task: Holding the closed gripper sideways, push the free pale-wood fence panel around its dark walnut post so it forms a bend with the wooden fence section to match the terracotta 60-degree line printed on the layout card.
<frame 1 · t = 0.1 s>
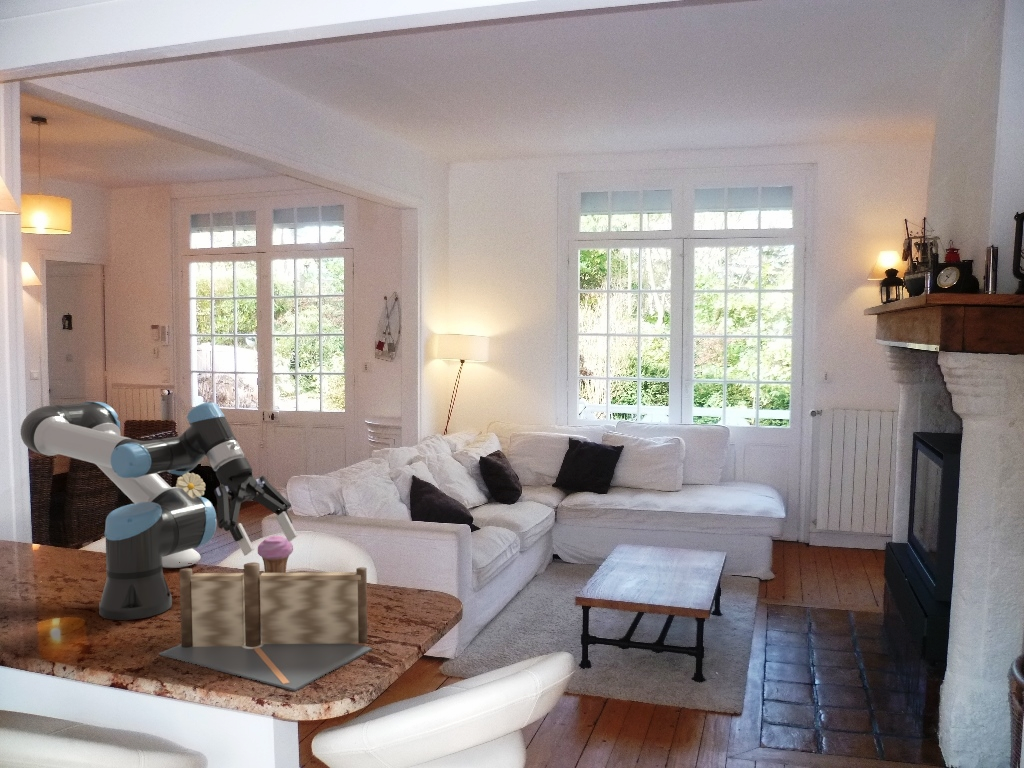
hand: (272, 545, 193), 15 cm above the kitchen counter, tool tilted 35°, fingers open, 13 cm apart
fence panel: (314, 605, 174), point 8 cm above the kitchen counter, hinge at 0.0°
flower in vase: (181, 565, 232), on the kitchen counter
cupcake: (275, 574, 224), on the kitchen counter
wooden fence section: (253, 646, 174), resting on layout card
layout card: (266, 652, 171), on the kitchen counter
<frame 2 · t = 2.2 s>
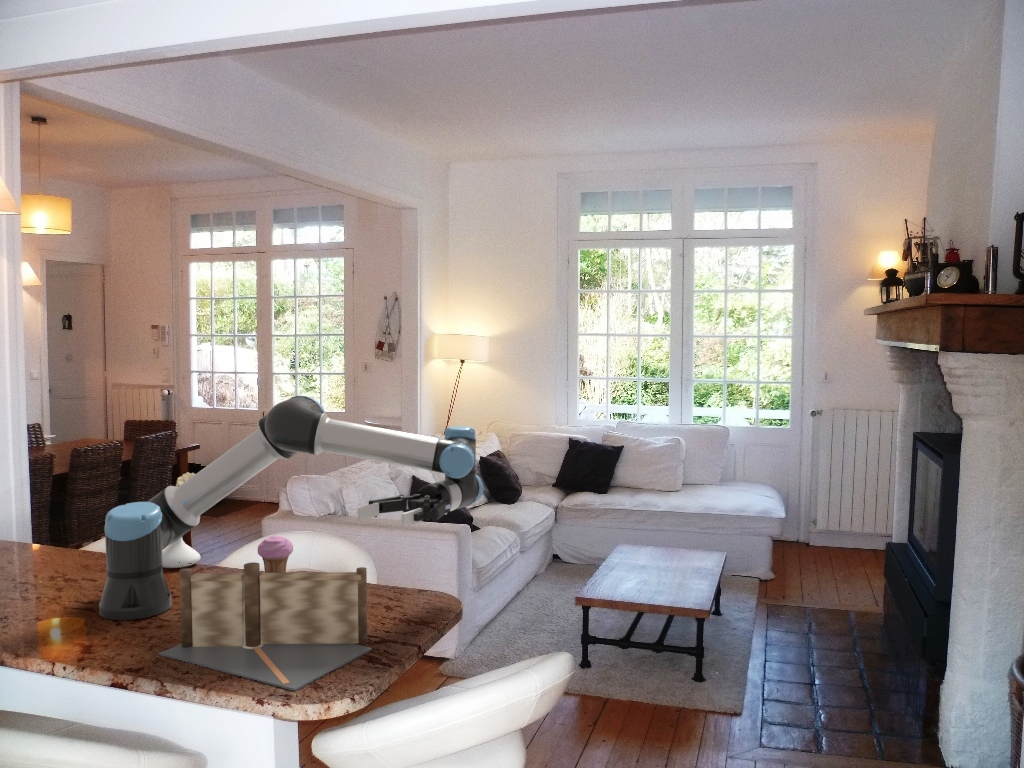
hand: (380, 517, 182), 24 cm above the kitchen counter, tool horizontal, fingers open, 11 cm apart
nothing on the kitchen counter moved.
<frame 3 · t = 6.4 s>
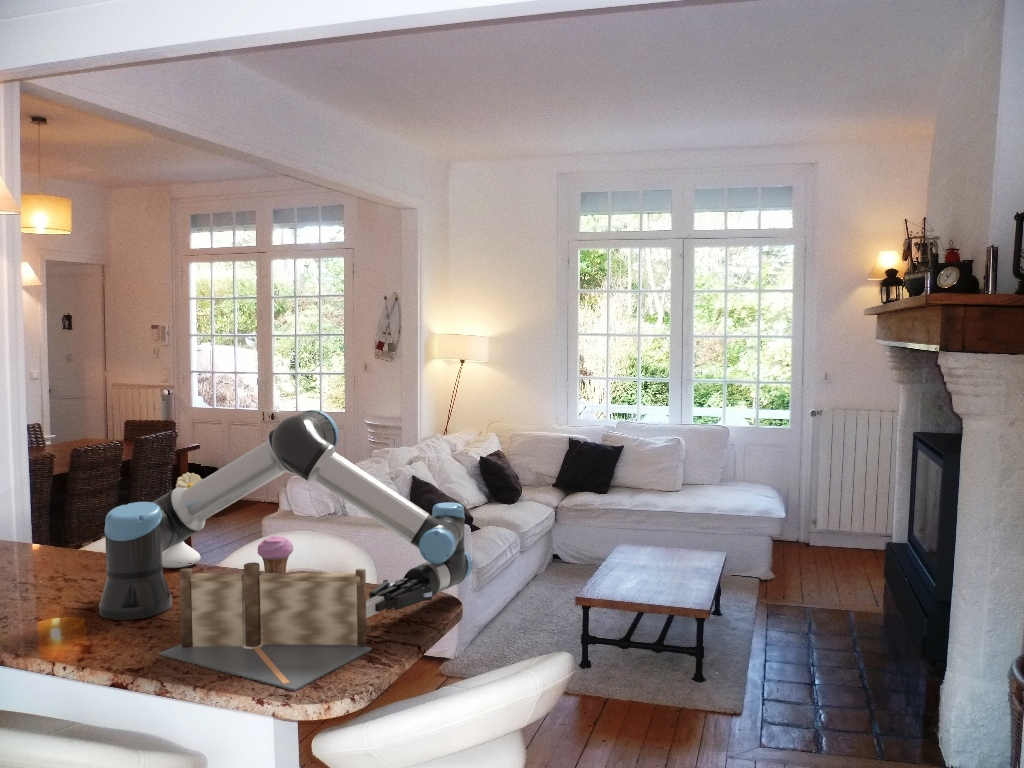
hand: (361, 611, 175), 7 cm above the kitchen counter, tool horizontal, fingers closed
fence panel: (313, 606, 173), point 8 cm above the kitchen counter, hinge at 2.8°, touching gripper
everything else where it was.
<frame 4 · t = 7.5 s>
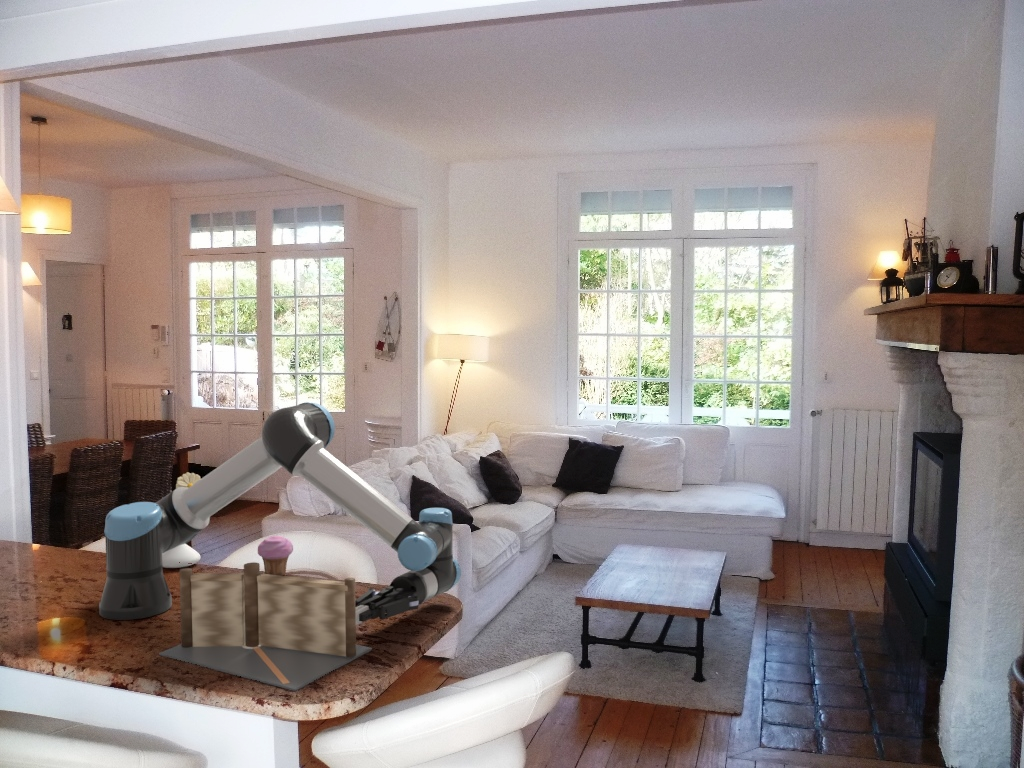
hand: (344, 621, 169), 7 cm above the kitchen counter, tool horizontal, fingers closed
fence panel: (306, 612, 170), point 8 cm above the kitchen counter, hinge at 19.0°, touching gripper
everything else where it was.
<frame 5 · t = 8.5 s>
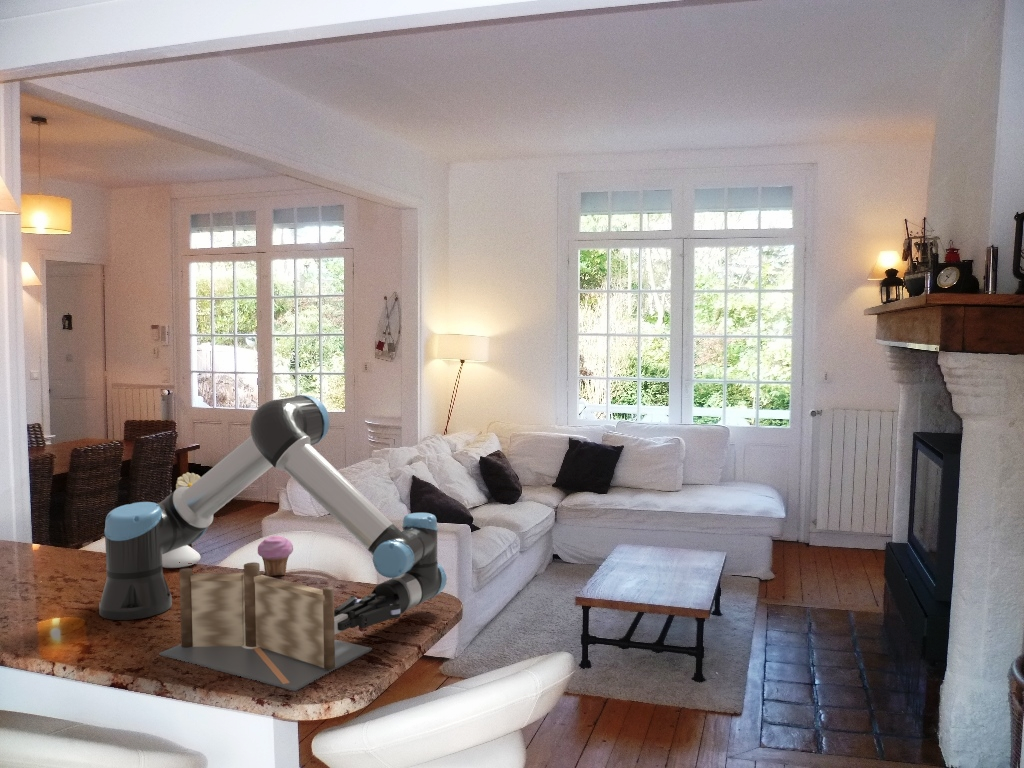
hand: (323, 631, 164), 7 cm above the kitchen counter, tool horizontal, fingers closed
fence panel: (294, 618, 166), point 8 cm above the kitchen counter, hinge at 36.4°, touching gripper
everything else where it was.
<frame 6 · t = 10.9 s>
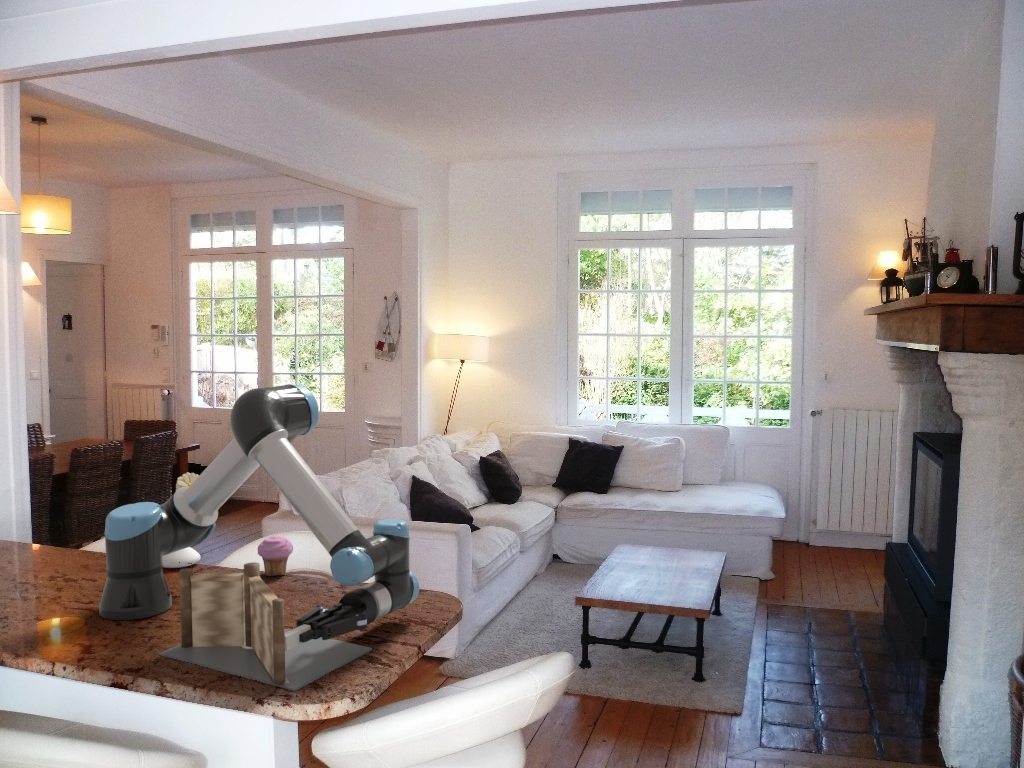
hand: (283, 643, 157), 7 cm above the kitchen counter, tool horizontal, fingers closed
fence panel: (266, 625, 163), point 8 cm above the kitchen counter, hinge at 63.1°, touching gripper
everything else where it was.
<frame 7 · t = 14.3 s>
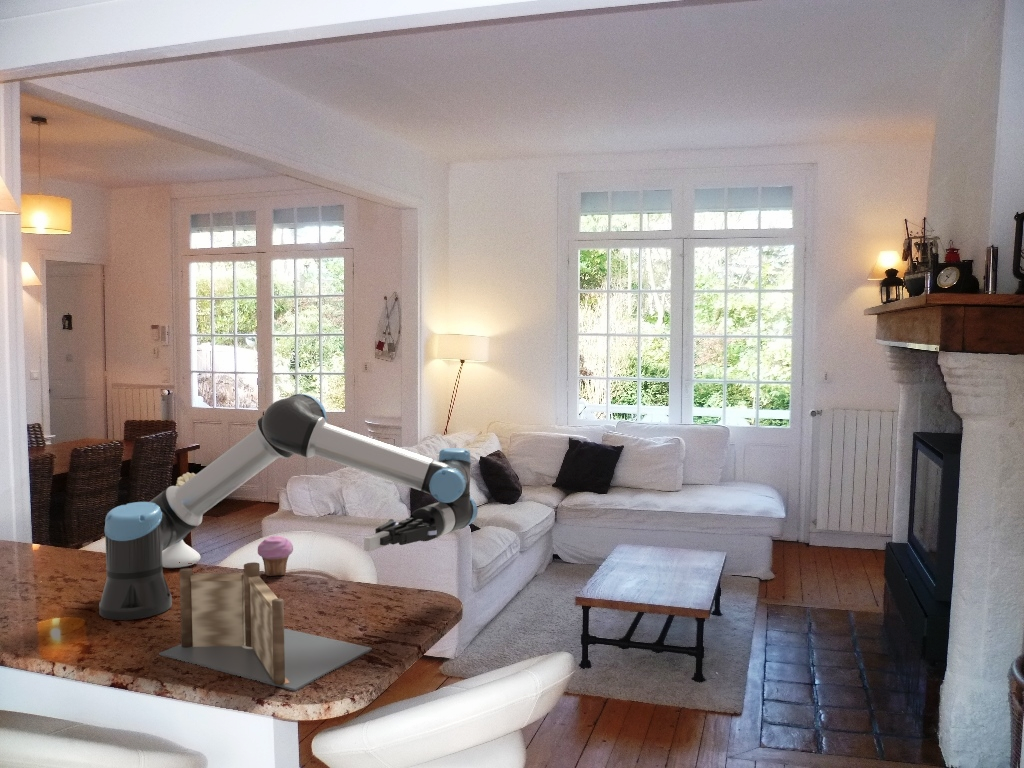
hand: (367, 544, 177), 20 cm above the kitchen counter, tool horizontal, fingers closed
fence panel: (266, 625, 163), point 8 cm above the kitchen counter, hinge at 63.2°
everything else where it was.
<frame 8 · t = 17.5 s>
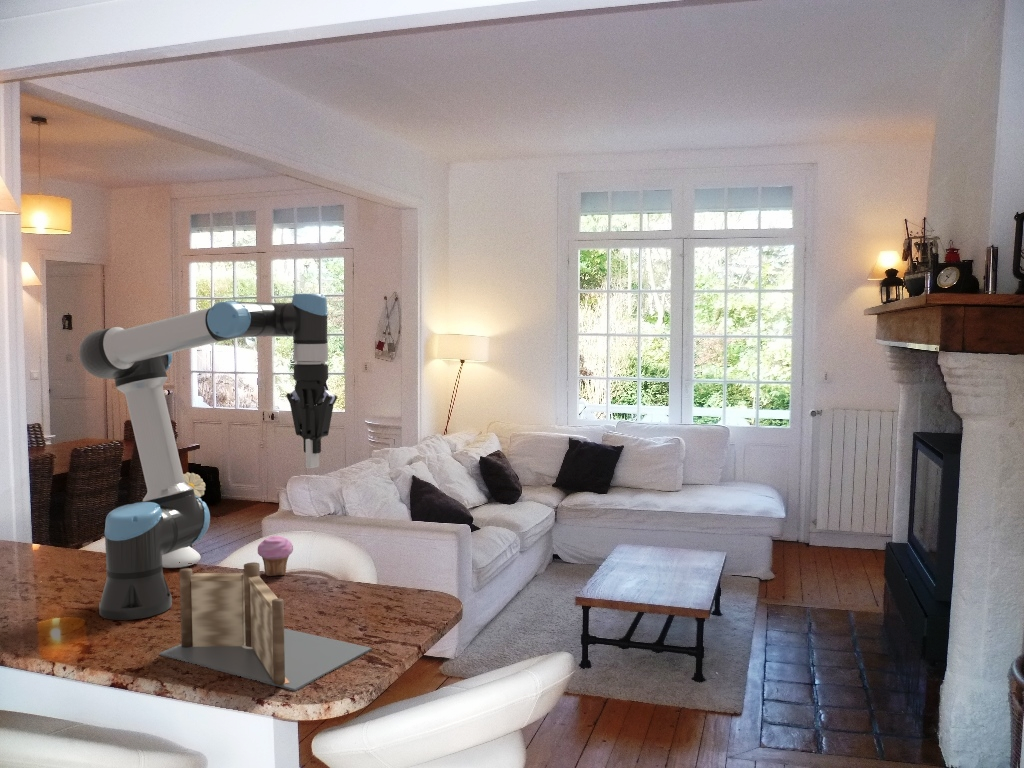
hand: (312, 467, 195), 32 cm above the kitchen counter, tool pointing down, fingers closed
nothing on the kitchen counter moved.
at the end: fence panel at +63° (first picture: +0°); the gripper is holding nothing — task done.
